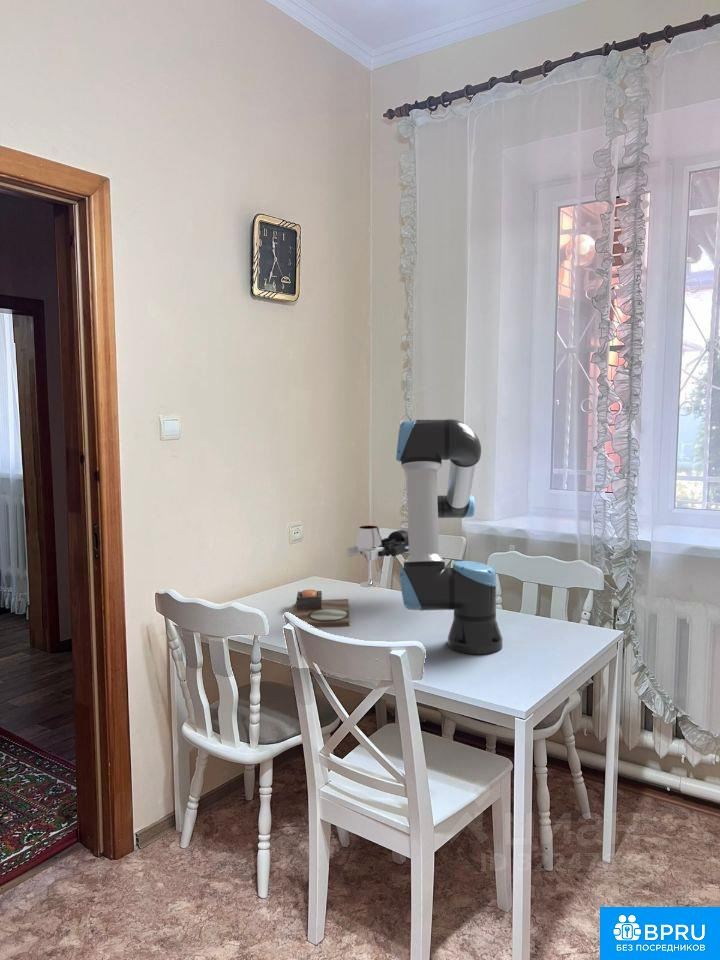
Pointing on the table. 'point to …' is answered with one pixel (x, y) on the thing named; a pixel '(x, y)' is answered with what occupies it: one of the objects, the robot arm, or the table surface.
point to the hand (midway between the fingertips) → (359, 554)
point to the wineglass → (368, 548)
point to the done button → (309, 593)
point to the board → (322, 611)
